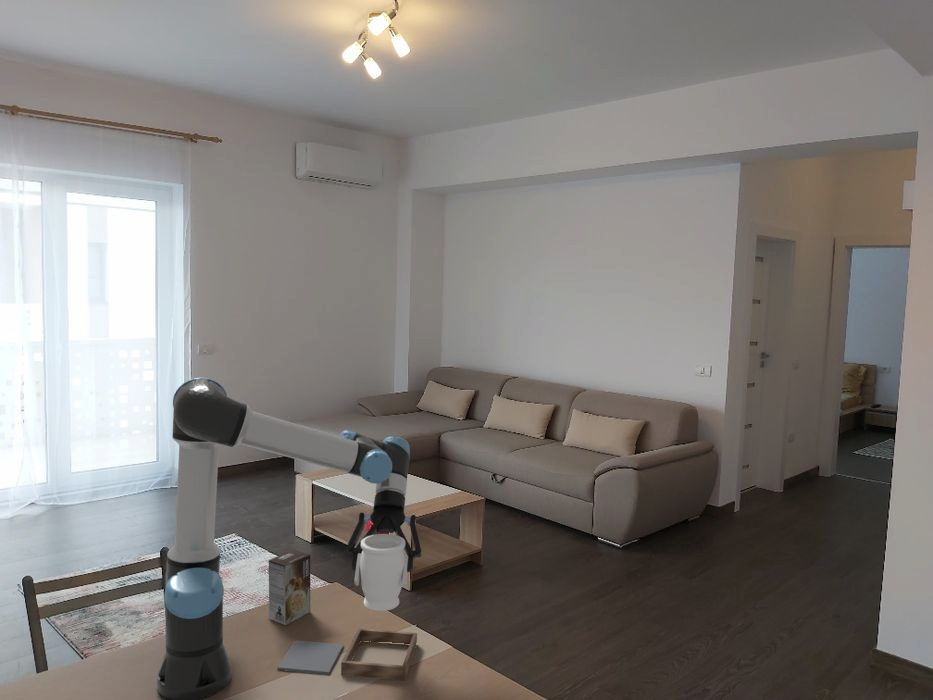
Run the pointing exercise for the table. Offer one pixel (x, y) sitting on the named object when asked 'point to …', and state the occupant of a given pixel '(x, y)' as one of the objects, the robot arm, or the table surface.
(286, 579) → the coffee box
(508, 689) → the table surface
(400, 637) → the collar
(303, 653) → the pad
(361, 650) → the table surface
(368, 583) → the jar
